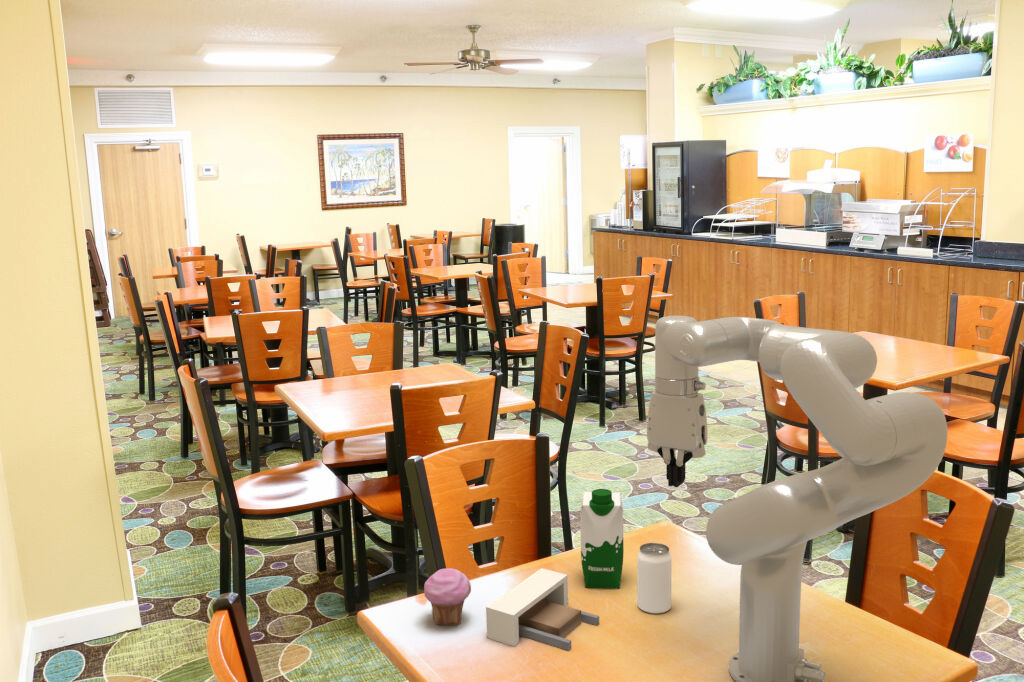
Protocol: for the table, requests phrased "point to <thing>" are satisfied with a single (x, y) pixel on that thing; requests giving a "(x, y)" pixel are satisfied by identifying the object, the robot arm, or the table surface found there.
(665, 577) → the can
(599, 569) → the milk carton
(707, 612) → the table surface
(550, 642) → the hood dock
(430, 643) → the table surface
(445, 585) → the cupcake
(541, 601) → the walnut tile
